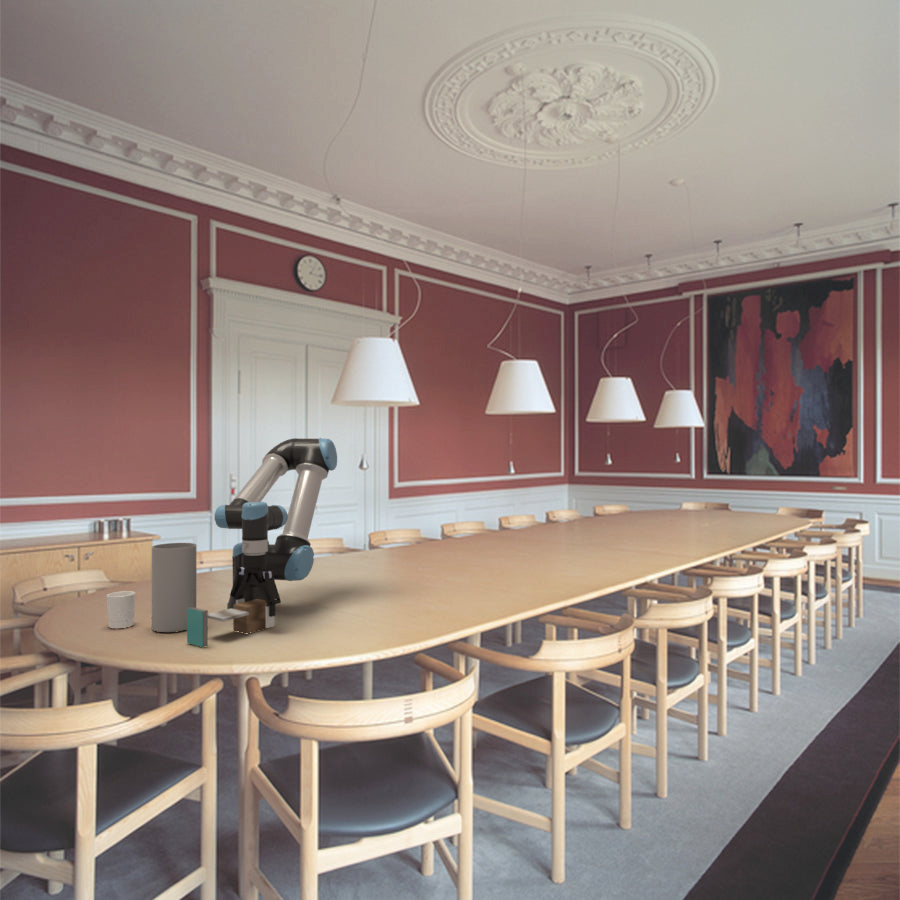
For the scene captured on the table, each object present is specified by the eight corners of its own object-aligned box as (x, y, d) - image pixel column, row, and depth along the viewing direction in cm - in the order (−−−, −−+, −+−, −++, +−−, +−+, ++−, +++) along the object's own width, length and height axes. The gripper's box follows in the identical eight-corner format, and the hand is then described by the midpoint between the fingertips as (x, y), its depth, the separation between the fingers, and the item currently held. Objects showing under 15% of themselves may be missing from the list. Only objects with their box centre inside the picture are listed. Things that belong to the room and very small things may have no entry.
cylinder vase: (165, 621, 205) (165, 542, 205) (203, 623, 204) (203, 543, 204) (143, 633, 193) (143, 548, 193) (183, 634, 192) (183, 549, 192)
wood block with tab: (255, 624, 203) (255, 598, 203) (272, 628, 198) (272, 601, 198) (205, 638, 188) (205, 610, 188) (223, 642, 183) (223, 614, 183)
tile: (186, 643, 182) (186, 608, 182) (191, 642, 184) (191, 606, 184) (202, 648, 178) (202, 611, 178) (207, 646, 180) (207, 610, 180)
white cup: (141, 623, 203) (141, 591, 203) (123, 630, 195) (123, 597, 195) (119, 622, 205) (119, 590, 205) (100, 629, 197) (100, 596, 197)
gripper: (218, 551, 201) (218, 620, 201) (273, 558, 188) (273, 633, 188) (238, 548, 208) (238, 615, 208) (293, 555, 194) (292, 627, 194)
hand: (254, 623), depth 198 cm, fingers open, 13 cm apart
